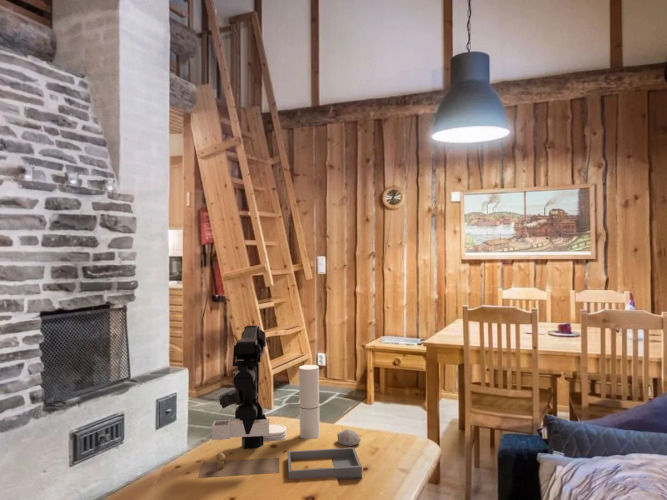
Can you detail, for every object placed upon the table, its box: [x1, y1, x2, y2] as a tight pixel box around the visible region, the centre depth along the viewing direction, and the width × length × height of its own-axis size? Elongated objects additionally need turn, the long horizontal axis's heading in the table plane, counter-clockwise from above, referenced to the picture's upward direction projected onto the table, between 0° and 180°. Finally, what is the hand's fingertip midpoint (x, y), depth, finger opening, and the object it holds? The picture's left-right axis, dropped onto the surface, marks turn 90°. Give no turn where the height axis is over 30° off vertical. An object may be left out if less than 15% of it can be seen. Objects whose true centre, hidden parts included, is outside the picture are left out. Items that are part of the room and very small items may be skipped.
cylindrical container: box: [298, 364, 321, 440], centre depth 187 cm, size 7×7×25 cm
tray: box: [286, 447, 363, 481], centre depth 158 cm, size 22×15×4 cm
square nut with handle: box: [211, 418, 270, 441], centre depth 158 cm, size 17×5×4 cm, turn 96°
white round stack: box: [263, 423, 288, 442], centre depth 186 cm, size 10×10×4 cm
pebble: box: [336, 428, 361, 447], centre depth 180 cm, size 9×8×5 cm
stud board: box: [197, 452, 280, 479], centre depth 158 cm, size 24×11×6 cm, turn 97°
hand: (247, 432), depth 158 cm, fingers closed on square nut with handle, 3 cm apart
